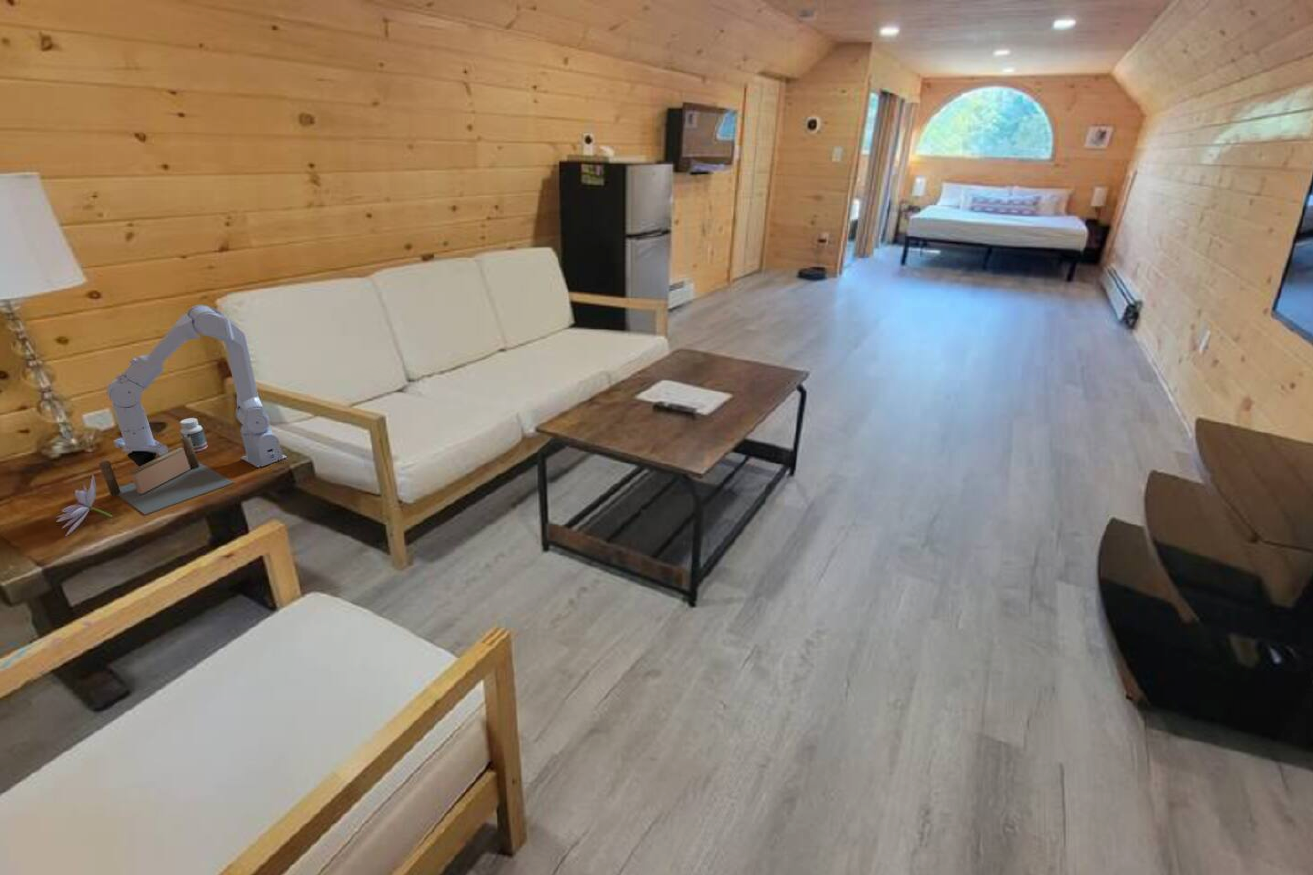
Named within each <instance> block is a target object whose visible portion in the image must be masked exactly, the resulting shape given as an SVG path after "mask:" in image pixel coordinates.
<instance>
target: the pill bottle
mask: <svg viewBox="0 0 1313 875" xmlns="http://www.w3.org/2000/svg"><path fill="white" fill-rule="evenodd" d="M179 423H180V427H181V429H180V431H179V432H180V435H181V439H182V438H185V437H191V440H192V444H193V447H194V450H195V453H196V452H201V451H203V450H205V449H207V448H208V443H207V439H206V436H205V431H204V428H203V427H202V425H199V421H198V419H197V418H195V417H189V418H185V419H182V420H181V421H180V422H179Z"/></svg>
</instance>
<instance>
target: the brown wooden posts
mask: <svg viewBox="0 0 1313 875" xmlns="http://www.w3.org/2000/svg"><path fill="white" fill-rule="evenodd" d="M181 441H182V445H183V448H184V451H185V454H186V458H187V461H188V464H189V465H190V468H191V469H196V468H199V464H198V462H199V460H198V458H197V454H196V452H195V450H194V447H193V444H192V440H191V437H185V438H182V437H181ZM98 464H99V467H100V470H101V472H102V476H103V479H104V480H105V483H106V485H107V488H108V491H109V494H110V496H111V497H117V496H118V495H117V494H120V493H121V491H120V489H119V487H120V486H119V484H118V481H117V478H116V475H115V473H114V469H113V468H112V465H111V461H110V460H104V461H100V462H99V463H98ZM118 497H119V496H118Z"/></svg>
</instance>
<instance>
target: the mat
mask: <svg viewBox="0 0 1313 875" xmlns="http://www.w3.org/2000/svg"><path fill="white" fill-rule="evenodd" d="M198 464H199V468H196V469H191V468H190V469H189V470H187V471H186V472H184V473H182V474H180V475H178V476H176V477H174V478H172V479H170V480H168V481H166V482H164V483H162V484H160V485H158V486H156V487H154V488H153V489H151V490H149V491H147V492H145V493H143V494H139V493H138V492H137V489H136V486H135V483H134V482H130V483H128V484H124V485H122V486H119V489H120V491H121V493H120V494H117V495H118V497H119V498H121V499H122V500H123V501H124V502H126V503H127V504H129V505H130V506H132V507H133V508H134V509H136V511H138V512H140V513H141V514H143V515H144V516H147V515H150V514H153V513H156V512H159V511H161V510H165V509H167V508H169V507H172V506H175V505H177V504H181V503H184V502H186V501H189V500H191V499H195V498H198V497H200V496H203V495H207V494H208V493H211V492H214V491H217V490H219V489H223V488H224V487H227V486H230V485H233V484H235V483H234V481H233V480H230V479H229V478H227V477H226V476H224V475H222V474H220V473H218V472H216V471H215V470H213V469H211V468H210V467H208V466H206V465H204V464H202V463H201V462H199V461H198ZM189 467H190V465H189Z"/></svg>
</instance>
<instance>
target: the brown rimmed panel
mask: <svg viewBox="0 0 1313 875" xmlns="http://www.w3.org/2000/svg"><path fill="white" fill-rule="evenodd" d="M189 469H190V467H189V462H188V458H187V455H186V452H185V449H184V446H183V447H182V446H179V447H177V448H176V449H173V450H171V451H168V453H166V454H164V455H160V456H159V457H157V458H156V457H155V459H154V460H152V461H150V462H148V463H146V464H144V465H141V466H137V467H135V468H133V469H131V470H130V471H129V472H130V475H131V477H132V481H133V483H135V486H136V489H137V492H138V493H139V494H143V493H145V492H147V491H149V490H151V489H153V488H154V487H156V486H158V485H160V484H162V483H164V482H166V481H168V480H170V479H172V478H174V477H176V476H178V475H180V474H182V473H184V472H186V471H187V470H189Z"/></svg>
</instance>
